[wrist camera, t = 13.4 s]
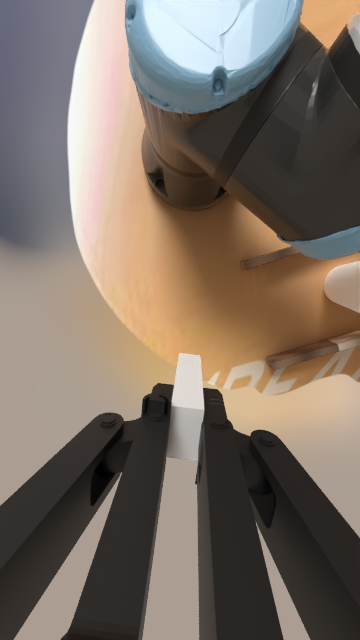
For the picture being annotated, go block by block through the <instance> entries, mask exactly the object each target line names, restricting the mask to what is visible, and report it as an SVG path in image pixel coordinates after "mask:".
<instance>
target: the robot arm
mask: <svg viewBox="0 0 360 640" xmlns="http://www.w3.org/2000/svg"><path fill="white" fill-rule="evenodd" d="M303 2H304V0H126V4H125V28H126V36H127V41H128V47H129V66H130V71H131V75H132V78H133V80H134V81H135V85H136V88H137V92H138V96H139V100H140V104H141V108H142V111H143V115H144V119H145V123H146V127H145V130H144V134H143V139H142V160H143V166H144V169H145V172H146V175H147V178H148V180H149V182H150V184H151V186H152V188H153V189H154V191H155V192H156V193H157V194H158V195H159V196H160V197H161V198H162V199H163V200H164V201H165V202H167V203H168V204H170V205H172V206H174V207H176V208H179V209H183V210H190V211H195V210H202V209H206V208H209V207H211V206H213V205H215V204H217V203H218V202H220V201H221V200H222V199H224V198H225V197H226V196H227V195H228V194H230V195H232V196H233V197H234V198H235V199H236V200H238V201H239V202H240V203H241V204H242V205H244V206H245V207H246V208H247V209H248V210H249V211H251V212H252V213H253V214H254V215H255V216H257V217H258V218H259V219H260V220H261V221H262V222H264V223H265V224H266V225H267V226H268V227H270V228H271V229H272V230H273V231H274V232H275V233H277V237H278V238H279V239H280V240H281V241H283V242H285V243H287V244H290V245H291V246H293V247H294V248H295V249H297V250H298V251H299V252H300V253H302V254H303V255H305V256H307V257H309V258H314V259H319V260H329V259H335V258H340V257H344V256H347V255H350V254H353V253H355V252H358V251H360V12H358V13H356V14H354V15H353V16H352V17H351V19H350V20H349V22H348V23H347V25H346V26H345V27H344V29H343V30H342V32H341V33H340V35H339V36H338V37H337V39H336V40H335V42H334V43H333V45H332V46H331V48H330V49H327V48H326V47H325V46H324V45H323V44H322V43H321V42H320V41H319V40H318V39H317V38H316V37H315V36H314V35H313V34H312V33H311V32H310V31H309V30H308V29H307V28H306V27H305V26H304V25H303V24H302V23H301V22H300V16H301V14H302V6H303ZM166 457H169V458H177V459H185V460H193V461H197V460H198V467H197V474H196V481H195V484H197V495H198V496H197V500H198V567H199V568H198V570H199V636H200V637H199V640H283V635H282V631H281V627H280V623H279V619H278V614H277V610H276V606H275V602H274V598H273V594H272V589H271V585H270V581H269V576H268V573H267V568H266V564H265V560H264V556H263V551H262V547H261V543H260V539H259V534H258V530H257V526H256V523H257V525H258V527H259V529H260V532H261V534H262V536H263V538H264V540H265V542H266V545H267V547H268V549H269V551H270V553H271V555H272V557H273V560H274V562H275V564H276V566H277V568H278V570H279V573H280V575H281V577H282V579H283V581H284V583H285V585H286V588H287V590H288V592H289V594H290V596H291V598H292V601H293V603H294V605H295V607H296V609H297V611H298V614H299V616H300V618H301V620H302V622H303V624H304V627H305V629H306V631H307V633H308V635H309V637H310V639H311V640H360V538H359V537H358V535H357V534H356V533H355V532H354V530H353V529H352V528H351V527H350V525H349V524H348V523H347V522H346V520H345V519H344V518H343V517H342V515H341V514H340V513H339V512H338V510H337V509H336V508H335V507H334V505H333V504H332V503H331V502H330V501H329V499H328V498H327V497H326V496H325V494H324V493H323V492H322V491H321V489H320V488H319V487H318V486H317V484H316V483H315V482H314V481H313V479H312V478H311V477H310V476H309V475H308V473H307V472H306V471H305V470H304V468H303V467H302V466H301V465H300V463H299V462H298V461H297V460H296V458H295V457H294V456H293V455H292V453H291V452H290V451H289V450H288V448H287V447H286V446H285V445H284V443H283V442H282V441H281V440H280V439H279V438H278V437H277V436H276V435H274V434H273V433H271V432H269V431H265V430H255V431H253V432H252V433H251V436H247V435H245V434H242V433H240V432H238V431H236V430H234V429H233V425H232V423H231V422H230V421H229V420H228V419H227V415H226V411H225V406H224V402H223V397H222V394H221V393H220V392H219V391H218V390H217V389H209V388H203V384H202V371H201V357H200V355H193V354H184V353H179V358H178V364H177V370H176V377H175V383H174V385H170V384H161V383H158V384H157V385H155V386H154V387H153V390H152V393H151V394H148V395H146V396H145V397H144V398H143V403H142V415H141V417H140V418H139V419H136V420H132V421H124V420H123V418H122V416H121V415H119V414H116V413H103V414H100V415H98V416H97V417H96V418H94V419H93V420H92V421H91V422H90V423H89V424H88V425H87V426H86V427H85V428H84V429H83V430H81V432H79V433H78V434H77V435H76V436H75V437H74V438H73V439H72V440H71V441H70V442H69V443H67V444H66V445H65V446H64V447H63V448H62V449H61V450H60V451H59V452H58V453H57V454H56V455H54V456H53V457H52V459H50V460H49V461H48V462H47V463H46V464H45V465H44V466H43V467H42V468H41V469H39V470H38V471H37V472H36V473H35V474H34V475H33V476H32V477H31V478H30V479H29V480H28V481H27V482H26V483H25V484H23V485H22V486H21V487H20V488H19V489H18V490H17V491H16V492H15V493H14V494H13V495H12V496H11V497H9V498H8V499H7V500H6V501H5V502H4V503H3V504H2V505H1V506H0V640H13V639H14V638H15V636H16V635H17V633H18V632H19V630H20V629H21V627H22V626H23V624H24V622H25V621H26V619H27V618H28V616H29V615H30V613H31V612H32V610H33V609H34V607H35V605H36V604H37V603H38V601H39V599H40V598H41V596H42V595H43V593H44V592H45V590H46V589H47V587H48V586H49V584H50V583H51V581H52V579H53V578H54V576H55V575H56V573H57V572H58V570H59V569H60V567H61V566H62V564H63V563H64V561H65V559H66V558H67V556H68V555H69V553H70V552H71V550H72V549H73V547H74V546H75V544H76V543H77V541H78V539H79V538H80V536H81V535H82V533H83V532H84V530H85V529H86V527H87V525H88V524H89V522H90V521H91V519H92V518H93V516H94V515H95V513H96V512H97V510H98V509H99V507H100V506H101V504H102V503H103V501H104V499H105V498H106V496H107V495H108V493H109V492H110V490H111V489H112V487H113V485H114V484H115V482H116V481H117V479H118V478H119V476H120V474H121V472H122V475H121V478H120V481H119V484H118V487H117V490H116V493H115V496H114V499H113V502H112V505H111V508H110V511H109V514H108V517H107V520H106V523H105V526H104V529H103V531H102V535H101V537H100V540H99V543H98V547H97V549H96V552H95V555H94V559H93V561H92V565H91V567H90V570H89V573H88V576H87V579H86V582H85V585H84V588H83V591H82V594H81V597H80V600H79V603H78V606H77V609H76V612H75V615H74V618H73V620H72V623H71V626H70V628H69V630H68V632H67V633H66V634H65V635H64V636H63V637H62V638H61V640H142V636H143V628H144V621H145V613H146V606H147V599H148V591H149V584H150V576H151V568H152V561H153V554H154V546H155V538H156V531H157V524H158V516H159V509H160V502H161V494H162V487H163V479H164V472H165V464H166ZM255 521H256V522H255Z"/></svg>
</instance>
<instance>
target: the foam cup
mask: <svg viewBox="0 0 360 640" xmlns="http://www.w3.org/2000/svg"><path fill="white" fill-rule="evenodd" d="M323 289H324V292H325V295H326V296H327V297H328V298H329V299H330V300H331V301H332V302H334V303H337V304H339V305H341V306H344V307H346V308H349V309H351V310H353V311H356V312H358V313H360V261H357V262H353V263H349V264H345V265H341V266H338V267H336V268H334V269H333V270H331V271H330V272H329V273H328V275H327V276H326V278H325V280H324V287H323Z"/></svg>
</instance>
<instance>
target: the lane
mask: <svg viewBox="0 0 360 640" xmlns="http://www.w3.org/2000/svg"><path fill="white" fill-rule="evenodd" d="M297 253H300V252H299V251H298V250H297V249H295V248H294V247H293V246H291V247H287V248H284V249H281V250H278V251H275V252H272V253H269V254H265V255H262V256H259V257H256V258H253V259H250V260H246V261H243V262H241V265H242V269H249V268H252V267H256V266H259V265H262V264H265V263H268V262H271V261H275V260H278V259H281V258H284V257H287V256H290V255H294V254H297ZM359 345H360V330H358V331H355V332H351V333H348V334H344V335H341V336H337V337H334V338H330V339H327V340H324V341H320V342H317V343H313V344H310V345H306V346H303V347H300V348H296V349H293V350H289V351H286V352H282V353H279V354H276V355H272V356H269V357H266V361H267V364H268V365H269V366H270V367H271V368H272V369H273V370H275V369H279V368H282V367H286V366H289V365H293V364H296V363H300V362H303V361H307V360H310V359H314V358H317V357H321V356H324V355H328V354H331V353H335V352H338V351H341V350H345V349H348V348H352V347H355V346H359Z"/></svg>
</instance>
